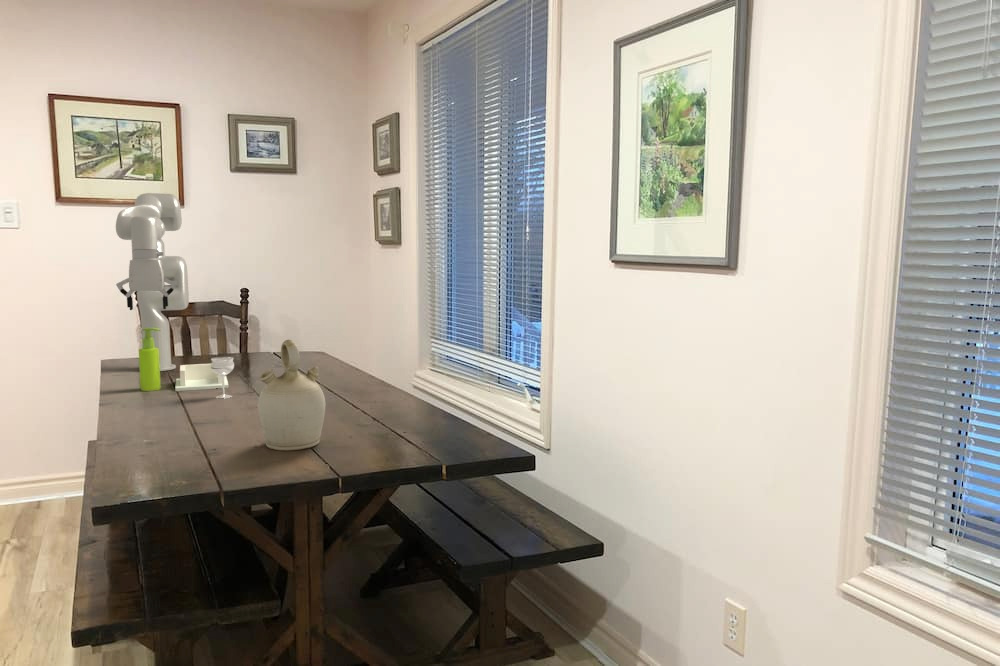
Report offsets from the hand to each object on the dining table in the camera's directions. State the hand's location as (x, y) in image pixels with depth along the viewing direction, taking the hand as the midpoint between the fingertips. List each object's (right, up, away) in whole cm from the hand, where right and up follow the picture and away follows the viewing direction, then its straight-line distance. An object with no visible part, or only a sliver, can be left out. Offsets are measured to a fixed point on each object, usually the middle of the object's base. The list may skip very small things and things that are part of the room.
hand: (148, 309), depth 238 cm
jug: (+63, -34, -62) cm, 95 cm away
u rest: (+12, -25, +12) cm, 30 cm away
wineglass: (+27, -28, -8) cm, 39 cm away
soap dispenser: (0, -26, +4) cm, 26 cm away
